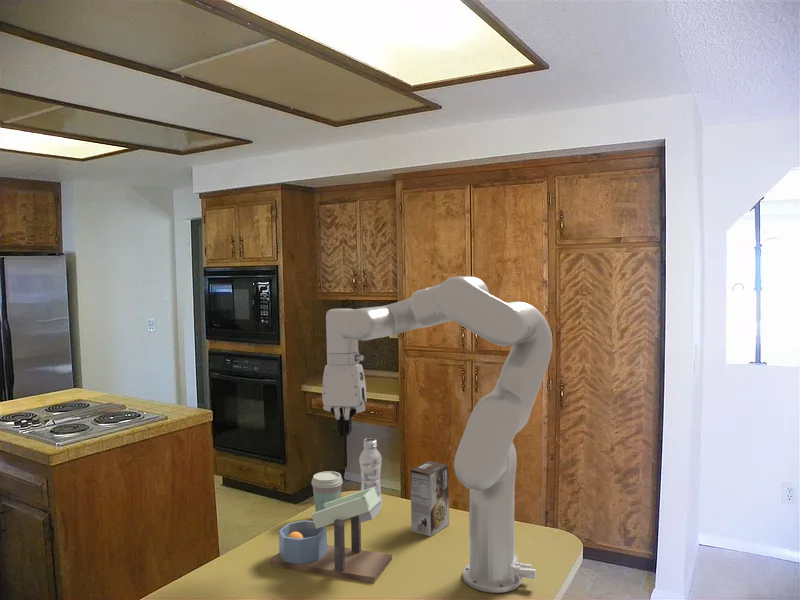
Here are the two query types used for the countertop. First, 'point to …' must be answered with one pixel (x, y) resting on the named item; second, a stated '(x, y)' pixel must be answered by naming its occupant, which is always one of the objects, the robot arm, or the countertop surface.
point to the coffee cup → (326, 488)
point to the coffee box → (429, 498)
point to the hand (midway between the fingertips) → (344, 434)
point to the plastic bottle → (371, 467)
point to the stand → (344, 557)
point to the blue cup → (302, 542)
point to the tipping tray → (349, 508)
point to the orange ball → (295, 535)
